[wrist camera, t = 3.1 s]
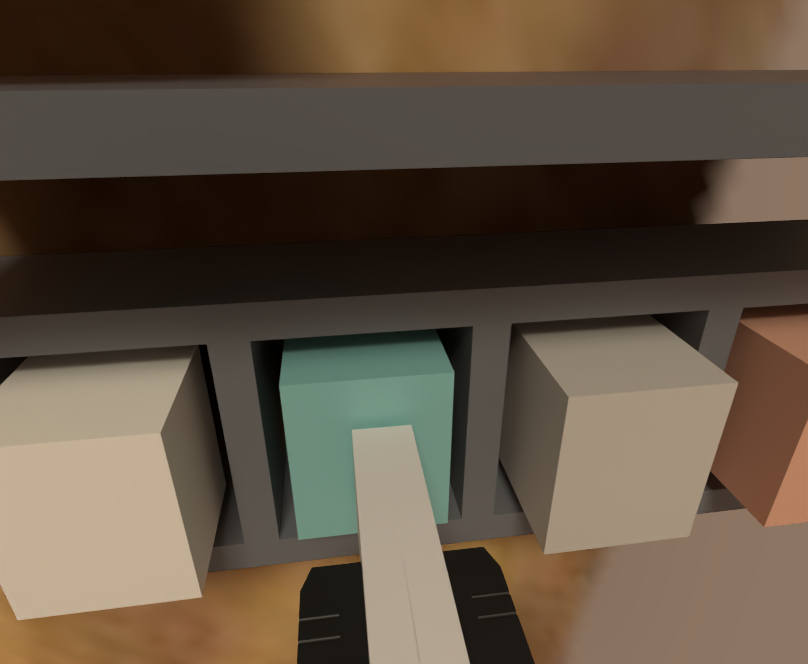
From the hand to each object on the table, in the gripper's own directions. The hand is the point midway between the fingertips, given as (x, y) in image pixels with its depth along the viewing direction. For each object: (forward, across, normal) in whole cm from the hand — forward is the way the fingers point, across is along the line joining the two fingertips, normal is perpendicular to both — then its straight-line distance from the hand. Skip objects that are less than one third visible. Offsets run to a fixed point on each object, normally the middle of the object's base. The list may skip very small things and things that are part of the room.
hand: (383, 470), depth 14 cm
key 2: (+4, 0, 0) cm, 4 cm away
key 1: (+3, -7, 0) cm, 7 cm away
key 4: (+3, +13, 0) cm, 13 cm away
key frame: (+6, +3, 0) cm, 6 cm away
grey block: (+3, +6, 0) cm, 7 cm away
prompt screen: (+6, +3, +9) cm, 11 cm away
